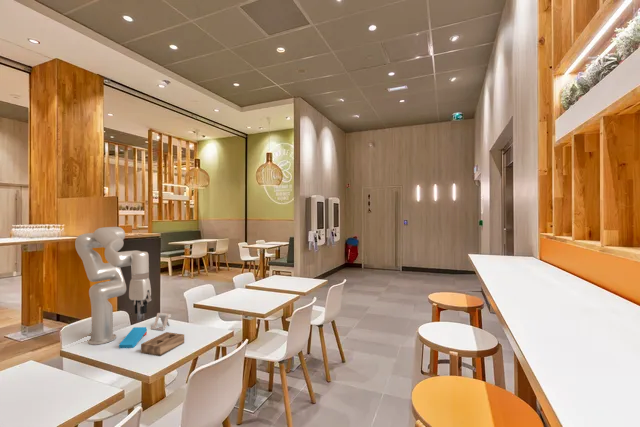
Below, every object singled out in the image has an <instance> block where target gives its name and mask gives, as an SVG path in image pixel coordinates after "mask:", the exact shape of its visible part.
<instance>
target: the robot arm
mask: <svg viewBox="0 0 640 427" xmlns="http://www.w3.org/2000/svg"><path fill="white" fill-rule="evenodd" d="M125 237H126V232H125V230H124V229H123V228H122V227H120V226H107V227H105V226H104V227H98V228H97V229H95V231H93V232H88V233H83V234H80V235H78V236H77V237H76V239H75V242H74V245H75V246H74V247H75V250H76V252H77V254H78V256H79V258H80V259H81V260H82V263H83V267H84V270H85V273H86V276H87V279H88V280H89V282H92V283H95V284H93V285H92V286H91V287H89V290H88V296H89V300H90V306H91V308H90V309H91V311H90V312H91V331H90V332H89V333H88V335H87V336H89V337H90V338H89V339H88V340H87V344H89V345H93V346H96V345H103V344H107V343H110V342H112V341H114V340H116V339H117V335H116V334H115V333H114V322H113V321H114V319H113V318H114V317H113V316H114V314H113V313H114V312H113V311H114V310H113V308H114V307H113V305H112V303H111V302H110V301H109V300H110V299H112V298H117V297H121V296H123V295H125V294H126V292H127V284H126V280H125V277H124V274H123V271H122V269H121V268H123V267H124V268H125V267H130V266H131V279H130V281H129V288H128V298H129V300H130V301H132V303H133V306H134V314H136V315H137V300H139V301H141V306H140V314H144V315H145V314H147V312H148V311H147V310H148V308H147V307H148V304H149V303H150V302H151V301H152V288H151V287H152V286H151V281H150V268H149V267H150V263H149V260H150V259H149V253H148V251H141V250H125V251H120V250H121V249H122V248H123V247H124V240H125ZM97 248H98V249H99V248H104V258H105V260H106V261H107V262H106V263H105V262H103V259H102V256H101V255H100V253H99V252H97V251H96V250H94V249H97Z"/></svg>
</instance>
